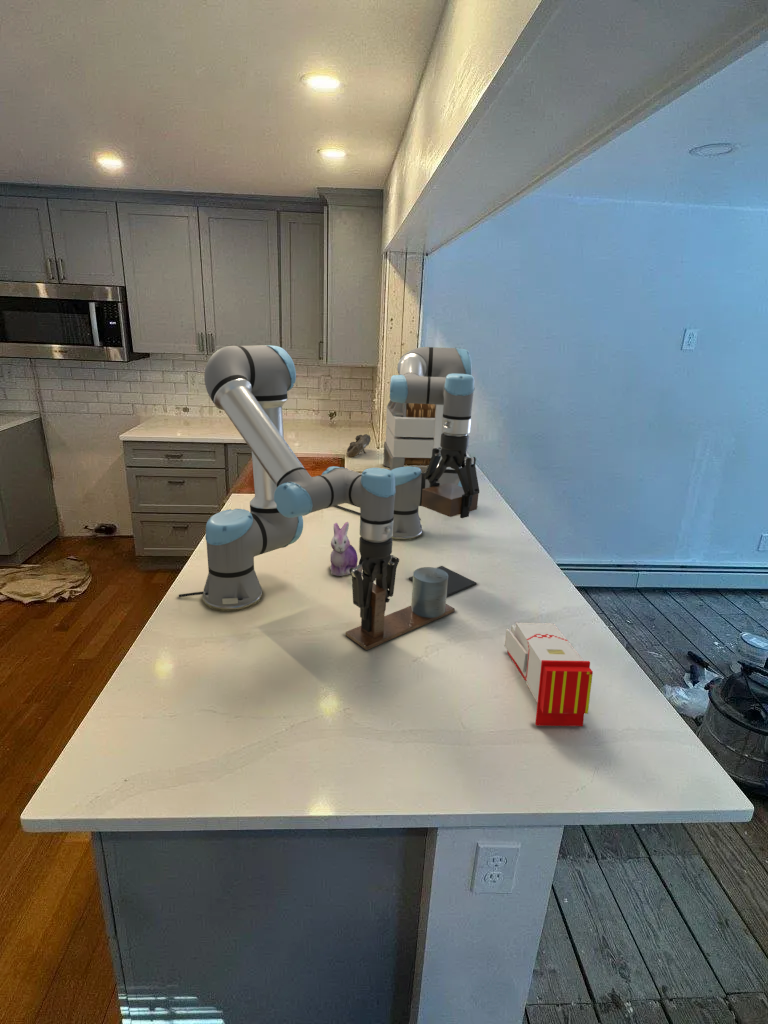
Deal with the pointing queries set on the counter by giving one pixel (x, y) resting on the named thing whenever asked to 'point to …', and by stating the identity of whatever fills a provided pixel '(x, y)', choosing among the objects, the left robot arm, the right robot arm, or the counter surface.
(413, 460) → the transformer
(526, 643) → the toy
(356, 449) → the fossil
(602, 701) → the counter surface
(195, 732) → the counter surface
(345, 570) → the figurine
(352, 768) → the counter surface
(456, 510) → the lid
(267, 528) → the left robot arm
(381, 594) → the wooden base with post
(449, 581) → the coaster
